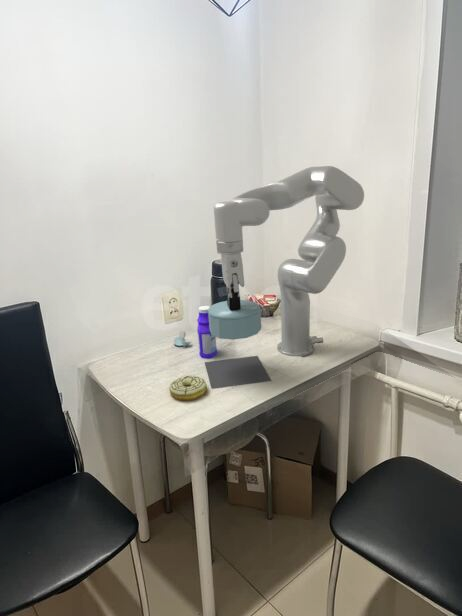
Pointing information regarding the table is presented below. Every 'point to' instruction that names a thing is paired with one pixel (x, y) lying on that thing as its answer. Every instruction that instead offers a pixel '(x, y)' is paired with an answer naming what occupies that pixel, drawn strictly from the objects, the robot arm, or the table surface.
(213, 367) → the mat
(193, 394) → the decorated donut
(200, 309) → the bottle
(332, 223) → the robot arm
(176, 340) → the pacifier
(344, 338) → the table surface
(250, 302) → the squat blue cylinder
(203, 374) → the table surface
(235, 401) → the table surface
